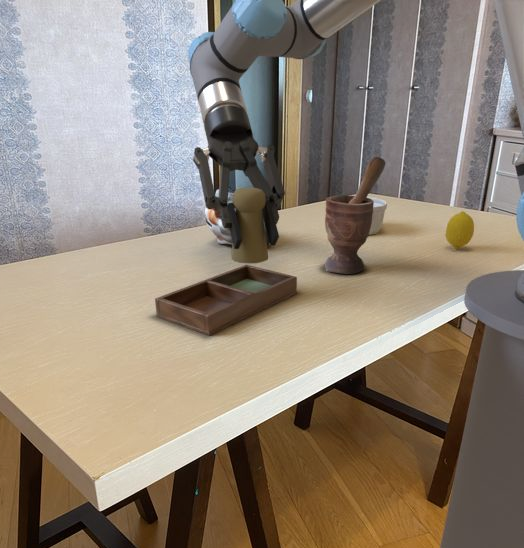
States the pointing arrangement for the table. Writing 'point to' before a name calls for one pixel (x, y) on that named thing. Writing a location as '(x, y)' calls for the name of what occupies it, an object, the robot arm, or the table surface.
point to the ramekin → (377, 214)
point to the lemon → (460, 230)
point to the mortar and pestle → (351, 222)
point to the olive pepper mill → (250, 225)
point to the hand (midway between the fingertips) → (256, 242)
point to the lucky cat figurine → (216, 224)
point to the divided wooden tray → (225, 298)
